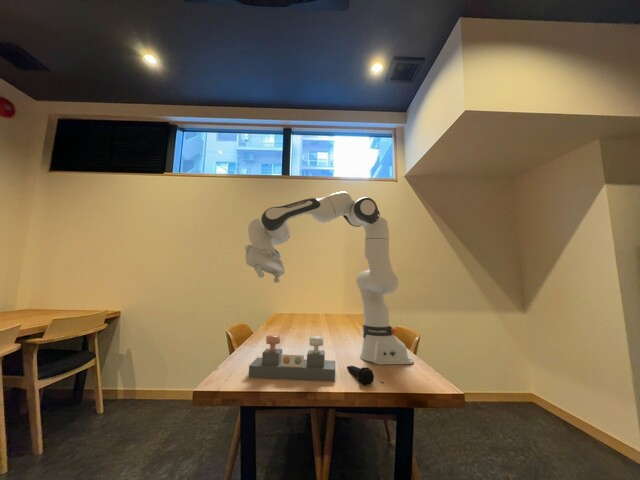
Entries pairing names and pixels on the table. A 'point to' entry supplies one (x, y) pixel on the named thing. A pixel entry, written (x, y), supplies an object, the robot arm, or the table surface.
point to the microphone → (362, 374)
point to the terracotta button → (272, 341)
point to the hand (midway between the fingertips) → (269, 279)
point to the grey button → (316, 343)
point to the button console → (293, 366)
